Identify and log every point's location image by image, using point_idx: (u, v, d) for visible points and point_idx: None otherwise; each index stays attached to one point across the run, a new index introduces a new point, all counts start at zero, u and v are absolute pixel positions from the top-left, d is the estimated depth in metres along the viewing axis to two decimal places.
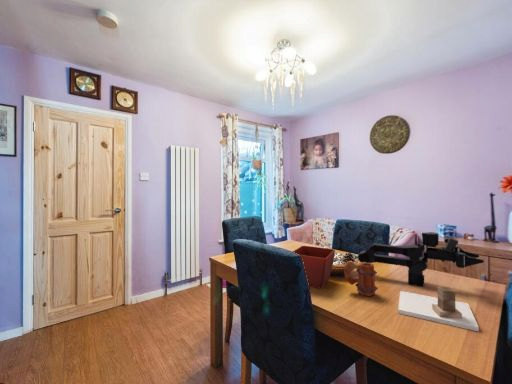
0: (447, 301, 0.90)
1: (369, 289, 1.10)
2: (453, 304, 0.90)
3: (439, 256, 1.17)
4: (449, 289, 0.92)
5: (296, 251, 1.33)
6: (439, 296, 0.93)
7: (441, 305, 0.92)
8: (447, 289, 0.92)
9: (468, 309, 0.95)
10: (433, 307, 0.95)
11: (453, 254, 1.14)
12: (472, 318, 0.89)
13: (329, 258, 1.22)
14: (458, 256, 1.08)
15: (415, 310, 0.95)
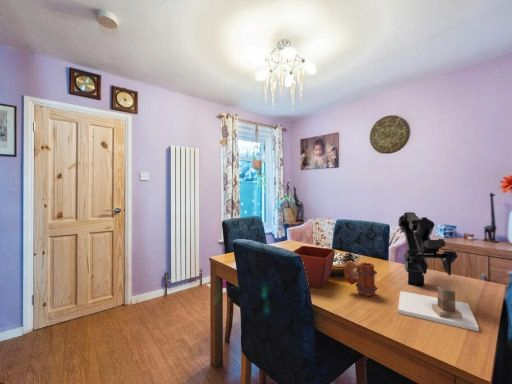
0: (447, 301, 0.90)
1: (369, 289, 1.10)
2: (453, 304, 0.90)
3: (417, 242, 1.11)
4: (449, 289, 0.92)
5: (296, 251, 1.33)
6: (439, 296, 0.93)
7: (441, 305, 0.92)
8: (447, 289, 0.92)
9: (468, 309, 0.95)
10: (433, 307, 0.95)
11: (422, 251, 1.06)
12: (472, 318, 0.89)
13: (329, 258, 1.22)
14: (407, 251, 1.06)
15: (415, 310, 0.95)
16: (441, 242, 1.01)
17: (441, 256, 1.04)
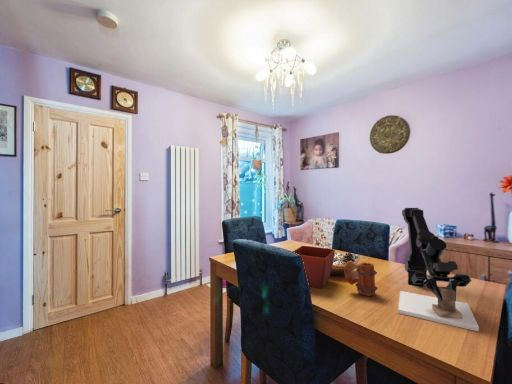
0: (448, 301, 0.90)
1: (369, 289, 1.10)
2: (453, 304, 0.90)
3: (425, 263, 1.02)
4: (449, 289, 0.92)
5: (296, 251, 1.33)
6: None
7: (441, 305, 0.92)
8: (447, 289, 0.92)
9: (468, 309, 0.95)
10: (433, 307, 0.95)
11: (432, 273, 0.97)
12: (472, 318, 0.89)
13: (329, 258, 1.22)
14: (414, 273, 0.98)
15: (415, 310, 0.95)
16: (453, 265, 0.92)
17: (452, 280, 0.95)
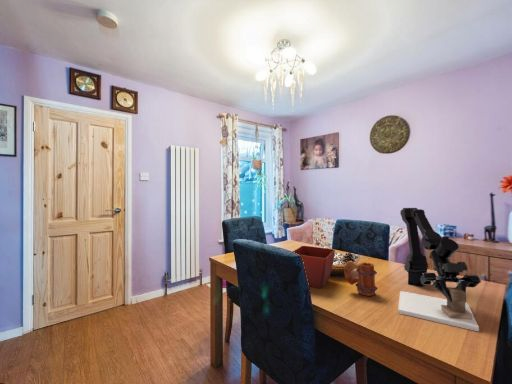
0: (457, 302, 0.89)
1: (369, 289, 1.10)
2: (463, 305, 0.89)
3: (434, 263, 1.01)
4: (459, 290, 0.91)
5: (296, 251, 1.33)
6: None
7: (451, 306, 0.91)
8: (457, 290, 0.91)
9: (468, 309, 0.95)
10: (442, 308, 0.94)
11: (440, 274, 0.97)
12: (472, 318, 0.89)
13: (329, 258, 1.22)
14: (423, 274, 0.97)
15: (415, 310, 0.95)
16: (462, 266, 0.91)
17: None
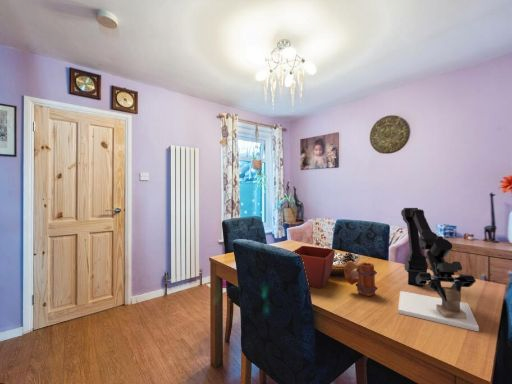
0: (452, 302, 0.90)
1: (369, 289, 1.10)
2: (458, 304, 0.90)
3: (429, 263, 1.02)
4: (453, 289, 0.91)
5: (296, 251, 1.33)
6: None
7: (445, 305, 0.91)
8: (452, 289, 0.91)
9: (468, 309, 0.95)
10: (437, 307, 0.94)
11: (436, 273, 0.97)
12: (472, 318, 0.89)
13: (329, 258, 1.22)
14: (418, 274, 0.97)
15: (415, 310, 0.95)
16: (457, 266, 0.91)
17: (457, 280, 0.95)
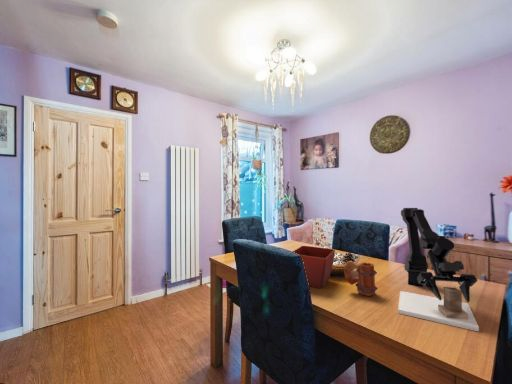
0: (454, 302, 0.90)
1: (369, 289, 1.10)
2: (459, 304, 0.89)
3: (431, 263, 1.02)
4: (455, 289, 0.91)
5: (296, 251, 1.33)
6: (445, 297, 0.92)
7: (447, 305, 0.91)
8: (453, 289, 0.91)
9: (468, 309, 0.95)
10: (439, 307, 0.94)
11: (437, 273, 0.97)
12: (472, 318, 0.89)
13: (329, 258, 1.22)
14: (420, 273, 0.97)
15: (415, 310, 0.95)
16: (459, 265, 0.91)
17: (458, 279, 0.95)
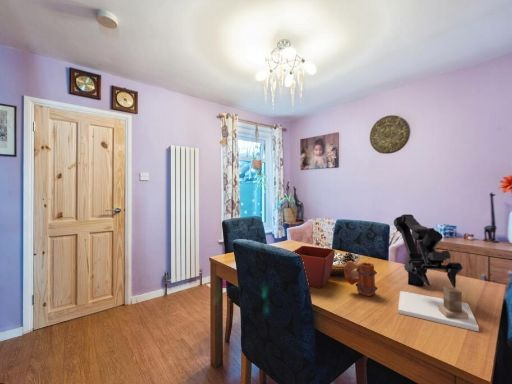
0: (454, 302, 0.90)
1: (369, 289, 1.10)
2: (459, 304, 0.89)
3: None
4: (455, 289, 0.91)
5: (296, 251, 1.33)
6: (445, 297, 0.92)
7: (447, 305, 0.91)
8: (453, 289, 0.91)
9: (468, 309, 0.95)
10: (439, 307, 0.94)
11: (427, 262, 1.06)
12: (472, 318, 0.89)
13: (329, 258, 1.22)
14: (411, 263, 1.06)
15: (415, 310, 0.95)
16: (446, 254, 1.00)
17: (446, 267, 1.04)
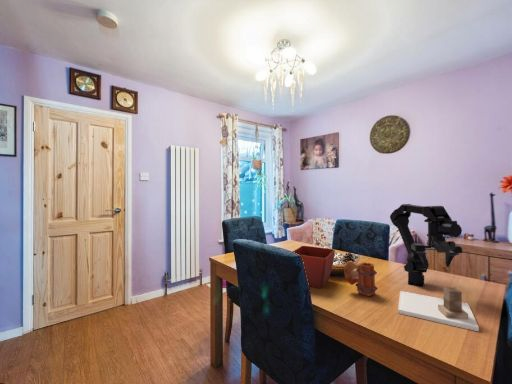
0: (454, 302, 0.90)
1: (369, 289, 1.10)
2: (459, 304, 0.89)
3: (428, 232, 1.13)
4: (455, 289, 0.91)
5: (296, 251, 1.33)
6: (445, 297, 0.92)
7: (447, 305, 0.91)
8: (453, 289, 0.91)
9: (468, 309, 0.95)
10: (439, 307, 0.94)
11: (430, 244, 1.11)
12: (472, 318, 0.89)
13: (329, 258, 1.22)
14: (415, 247, 1.12)
15: (415, 310, 0.95)
16: (451, 248, 1.03)
17: None
